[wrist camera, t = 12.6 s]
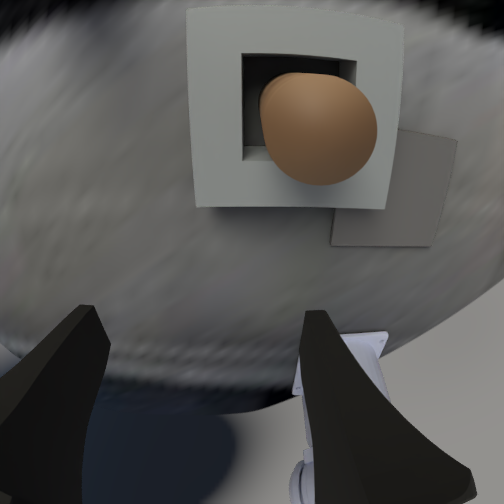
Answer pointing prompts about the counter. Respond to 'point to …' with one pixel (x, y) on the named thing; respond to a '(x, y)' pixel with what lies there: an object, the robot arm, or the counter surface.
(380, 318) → the counter surface
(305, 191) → the socket
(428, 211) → the pad
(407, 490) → the robot arm
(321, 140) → the peg
